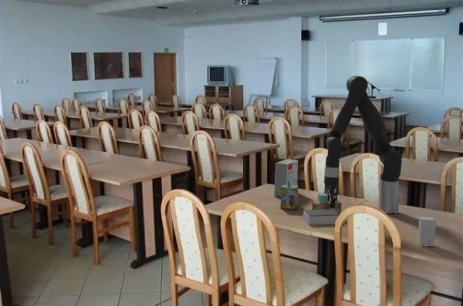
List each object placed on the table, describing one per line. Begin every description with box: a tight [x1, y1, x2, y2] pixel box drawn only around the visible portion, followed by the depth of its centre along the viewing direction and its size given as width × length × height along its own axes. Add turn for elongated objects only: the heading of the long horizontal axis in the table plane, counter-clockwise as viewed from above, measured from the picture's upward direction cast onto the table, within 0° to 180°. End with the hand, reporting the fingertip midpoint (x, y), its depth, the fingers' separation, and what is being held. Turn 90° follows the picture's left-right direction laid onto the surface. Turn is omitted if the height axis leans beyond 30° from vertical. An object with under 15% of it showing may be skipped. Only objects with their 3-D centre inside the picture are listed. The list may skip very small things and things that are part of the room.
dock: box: [302, 209, 341, 226], centre depth 249 cm, size 16×10×4 cm, turn 97°
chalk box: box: [280, 180, 299, 210], centre depth 272 cm, size 9×9×15 cm
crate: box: [317, 193, 328, 203], centre depth 262 cm, size 4×4×4 cm
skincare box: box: [417, 216, 437, 246], centre depth 217 cm, size 6×4×12 cm
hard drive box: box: [273, 158, 299, 198], centre depth 298 cm, size 16×8×20 cm, turn 147°
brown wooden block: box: [311, 199, 342, 214], centre depth 263 cm, size 14×5×6 cm, turn 97°
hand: (330, 205), depth 263 cm, fingers open, 8 cm apart
